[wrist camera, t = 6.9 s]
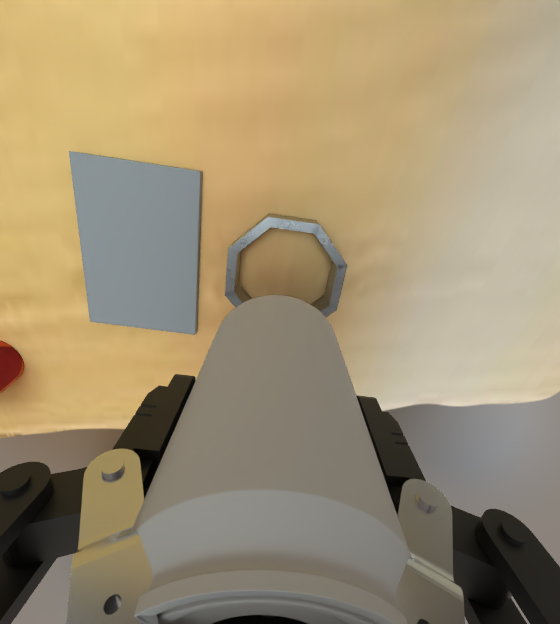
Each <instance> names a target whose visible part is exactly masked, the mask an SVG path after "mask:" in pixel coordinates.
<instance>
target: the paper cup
mask: <svg viewBox="0 0 560 624" xmlns="http://www.w3.org/2000/svg"><path fill="white" fill-rule="evenodd" d="M23 370H24V362H23V359H22V357H21V356H20V354H19V353H18V352H17V351H16V350H15V349H14V348H13V347H12V346H10V345H8V344H7V343H5V342H2V341H0V393H1V392H2V391H4V390H5V389H6V388H7V387H8V386H9V385H11V384H12V383H13V382H14V381H15V380H16V379H17V378H18V377H19V376H20V375H21V374H22V373H23Z"/></svg>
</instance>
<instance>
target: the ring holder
mask: <svg viewBox="0 0 560 624" xmlns="http://www.w3.org/2000/svg"><path fill="white" fill-rule="evenodd" d="M270 227H272V228H279V229H286V230H293V231H300V232H307V233H314V234H315V236H316V237H317V239H318V240H319V242H320V243H321V244H322V246H323V247H324V249H325V250H326V252H327V253H328V255H329V256H330V257H331V259H332V264H331V268H330V273H329V278H328V283H327V287H326V292H325V295H324V296H322V297H321V298H320V299H318V300H317V301H315V302H314V303H312V304H311V305H312V306H313V307H315V308H316V309H318V310H319V311H320V312H321V313H322V314H323V315H324V316H325V317H327V316H328V315H330V314H331V313H333V312H335V311H336V310H337V306H338V302H339V298H340V294H341V289H342V285H343V281H344V276H345V272H346V268H347V264H346V263H345V261H344V260H343V258H342V257H341V255H340V254H339V252H338V251H337V250H336V248H335V247H334V245H333V244H332V242H331V241H330V239H329V238H328V236H327V235H326V233H325V232H324V230H323V229H322V227H321V226H320V224H319V223H318V222H317V221H316V220H310V219H303V218H296V217H289V216H282V215H275V214H268V215H267V216H266V217H264V218H263V219H262V220H261V221H259V222H258V223H257V224H256V225H254V226H253V227H252V228H251V229H249V230H248V231H247V232H246V233H244V234H243V235H242V236H241V237H239V238H238V239H237V240H236V241H234V242H233V243H232V245H231V246H230V247H229V248H228V260H227V274H226V288H225V296H226V297H227V298H228V299H229V300H230V302H231V303H232V304H233V305H234V306H235V307H237V306H239V305H240V304H242V303H244V302H246V301H248V300H250V299H251V298H250V297H249V295H248V294H247V293H246V292H245V291H244V289H243V288H242V287H241V286H240V285H239V284H238V280H239V268H240V257H241V250H242V249H244V248H245V247H246V246H247V245H249V244H250V243H251V242H252V241H254V240H255V239H256V238H258V237H259V236H260V235H261V234H263V233H264V232H265V231H266V230H268V229H269V228H270Z"/></svg>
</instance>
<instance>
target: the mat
mask: <svg viewBox="0 0 560 624" xmlns="http://www.w3.org/2000/svg"><path fill="white" fill-rule="evenodd" d="M69 156H70V164H71V172H72V180H73V188H74V196H75V204H76V212H77V220H78V228H79V236H80V244H81V252H82V260H83V268H84V276H85V284H86V292H87V300H88V309H89V317H90V322H97V323H105V324H113V325H121V326H129V327H137V328H145V329H153V330H161V331H169V332H177V333H185V334H193V335H195V334H196V332H197V319H198V289H199V259H200V229H201V198H202V171H196V170H189V169H183V168H176V167H170V166H163V165H157V164H150V163H143V162H137V161H130V160H124V159H117V158H111V157H104V156H97V155H91V154H84V153H78V152H71V151H69Z"/></svg>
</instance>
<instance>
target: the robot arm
mask: <svg viewBox="0 0 560 624" xmlns="http://www.w3.org/2000/svg"><path fill="white" fill-rule="evenodd" d="M194 384H195V376H187V375H179V374H175V375H174V377H173V378H172V380H171V382H170V384H169V386H168V387H165V386H158V387H157V388H155V389H154V390H152V391H151V392H150V393H148V394H147V396H146V397H145V399H144V401H143V402H142V404H141V406H140V407H139V408H138V410H137V412H136V414H135V415H134V416H133V418H132V419H131V421H130V423H129V424H128V426H127V427H126V429H125V430H124V432H123V434H122V435H121V437H120V438H119V440H118V442H117V443H116V445H115V446H114V448H113V449H112V450H111V451H108V452H105V453H103V454H101V455H100V456H98V457H97V458H95V459H94V460H93V461H92V462H91V463H90V464H89V465H88V467H85V468H82V469H78V470H72V471H67V472H61V473H55V474H51V473H50V470H49V468H48V466H47V465H45V464H43V463H40V462H27V463H22V464H18V465H16V466H13V467H11V468H8V469H6V470H5V471H3V472H1V473H0V624H11V623H12V621H13V620H14V618H15V617H16V616H17V614H18V613H19V611H20V610H21V609H22V607H23V606H24V604H25V603H26V601H27V600H28V599H29V597H30V596H31V594H32V593H33V591H34V590H35V589H36V587H37V586H38V584H39V583H40V581H41V580H42V579H43V577H44V576H45V574H46V573H47V571H48V570H49V568H50V567H51V566H52V564H53V563H54V561H55V560H56V559H57V558H58V557H61V556H65V555H69V554H73V553H74V555H73V560H72V568H71V578H70V591H69V602H68V612H67V623H66V624H158V618H157V614H156V615H151V616H145V615H139V616H137V617H134V613H135V610H136V607H137V604H138V601H139V598H140V596H141V595H143V594H145V593H146V592H147V591H148V590H149V589H150V587H151V585H152V570H151V566H150V563H149V560H148V558H147V555H146V553H145V550H144V547H143V545H142V541H141V538H140V536H139V534H138V533H137V532H136V531H135V529H134V530H132V528H133V525H134V523H135V520H136V518H137V516H138V513H139V511H140V509H141V507H142V504H143V502H144V498H145V496H146V494H147V491H148V489H149V487H150V485H151V482H152V480H153V478H154V475H155V473H156V471H157V468H158V466H159V464H160V462H161V459H162V457H163V455H164V452H165V450H166V448H167V446H168V443H169V441H170V439H171V436H172V434H173V432H174V429H175V427H176V425H177V423H178V420H179V418H180V416H181V413H182V411H183V409H184V406H185V404H186V402H187V400H188V397H189V395H190V393H191V390H192V388H193V386H194ZM356 397H357V399H358V402H359V405H360V408H361V411H362V414H363V417H364V420H365V423H366V426H367V429H368V432H369V435H370V437H371V440H372V443H373V446H374V449H375V452H376V455H377V458H378V461H379V464H380V467H381V470H382V473H383V475H384V478H385V481H386V484H387V487H388V490H389V493H390V496H391V499H392V502H393V505H394V508H395V511H396V513H397V516H398V519H399V522H400V525H401V528H402V531H403V534H404V537H405V540H406V543H407V546H408V549H409V551H410V554H411V557H410V558H409V559H408V561H407V563H406V566H405V569H404V572H403V574H402V577H401V579H400V581H399V584H398V587H397V589H396V593H395V606H396V608H397V610H398V611H399V612H401V613H402V614H403V615H404V616H405V618H406V620H407V624H465V619H464V615H465V617H466V620H467V621H468V624H527V623H526V622H525V620H524V618H523V617H522V615H521V614H520V612H519V610H518V609H517V607H516V606H515V604H514V602H513V601H512V599H511V596H513V597H514V599H515V600H516V602H517V604H518V605H519V607H520V608H521V610H522V612H523V613H524V615H525V616H526V618H527V620H528V621H529V623H530V624H560V567H559V566H558V564H557V563H556V562H555V561H554V559H553V558H552V557H551V556H550V554H549V553H548V552H547V551H546V549H545V548H544V547H543V546H542V544H541V543H540V542H539V541H538V539H537V538H536V537H535V536H534V535H533V533H532V532H531V531H530V530H529V529H528V528H527V527H526V526H525V525H524V524H523V523H522V522H521V521H519V520H518V519H516V518H515V517H514V516H512V515H510V514H508V513H506V512H504V511H501V510H497V509H489V510H486V511H485V512H484V514H483V515H482V517H481V518H480V517H477V516H475V515H472V514H470V513H467V512H465V511H462V510H460V509H457V508H455V507H453V506H451V505H450V504H449V502H448V500H447V499H446V497H445V496H444V495H443V493H442V492H441V491H439V490H438V489H437V488H436V487H435V486H433V485H432V484H430V483H428V482H426V480H425V478H424V476H423V474H422V472H421V470H420V468H419V466H418V463H417V461H416V459H415V457H414V455H413V453H412V451H411V449H410V447H409V446H408V443H407V441H406V439H405V437H404V436H403V432H402V430H401V428H400V426H399V424H398V422H397V421H396V420H395V419H394V418H393V417H392V416H391V415H390V414H389V413H388V412H382V411H381V408H380V406H379V404H378V401H377V399H376V398H373V397H365V396H356ZM212 624H308V623H305V622H303V621H299V620H296V619H292V618H287V617H281V616H276V617H272V618H267V617H264V616H262V615H247V616H238V617H232V618H228V619H224V620H220V621H218V622H215V623H212Z"/></svg>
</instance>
